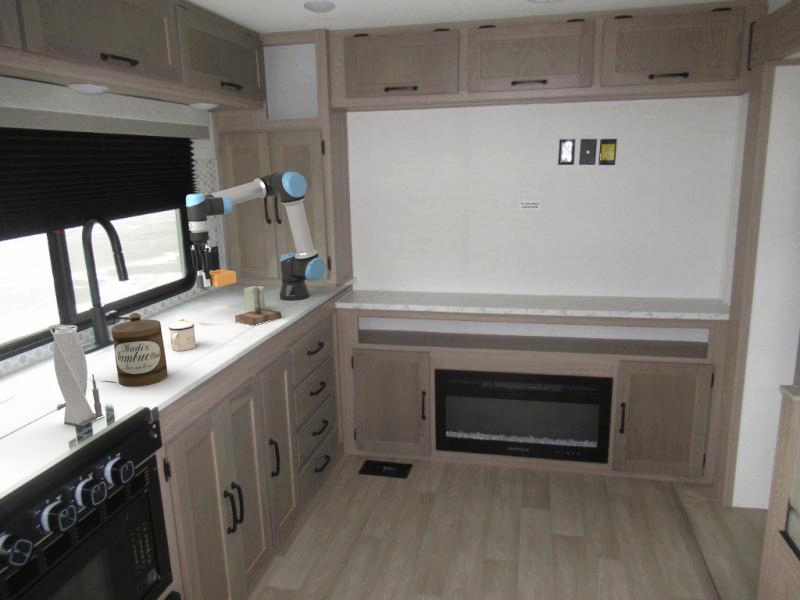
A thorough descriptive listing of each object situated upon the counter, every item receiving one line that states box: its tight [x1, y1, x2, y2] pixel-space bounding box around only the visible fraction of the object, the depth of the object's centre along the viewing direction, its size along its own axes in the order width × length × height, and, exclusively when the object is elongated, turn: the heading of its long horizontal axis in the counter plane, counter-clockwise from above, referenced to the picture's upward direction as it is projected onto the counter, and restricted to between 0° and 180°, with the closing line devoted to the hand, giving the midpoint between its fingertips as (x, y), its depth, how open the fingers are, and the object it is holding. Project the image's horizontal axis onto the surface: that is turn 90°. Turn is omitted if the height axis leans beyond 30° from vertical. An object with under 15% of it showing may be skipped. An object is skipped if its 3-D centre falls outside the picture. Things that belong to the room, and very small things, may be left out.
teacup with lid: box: [168, 317, 197, 352], centre depth 223 cm, size 12×9×12 cm
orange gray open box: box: [195, 269, 238, 289], centre depth 257 cm, size 16×10×5 cm, turn 142°
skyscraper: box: [47, 324, 104, 428], centre depth 159 cm, size 8×8×28 cm
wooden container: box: [111, 312, 169, 387], centre depth 191 cm, size 15×15×22 cm
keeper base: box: [234, 287, 282, 326], centre depth 262 cm, size 16×12×15 cm
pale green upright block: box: [243, 285, 266, 313], centre depth 277 cm, size 9×9×12 cm
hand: (204, 285), depth 254 cm, fingers closed on orange gray open box, 3 cm apart
